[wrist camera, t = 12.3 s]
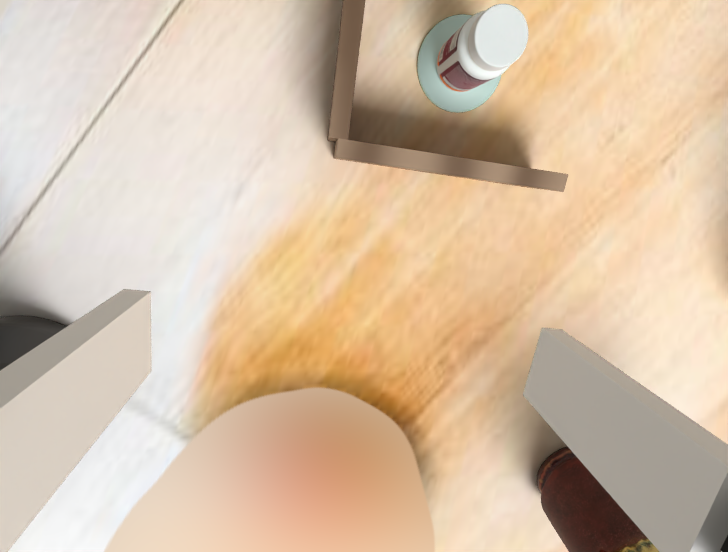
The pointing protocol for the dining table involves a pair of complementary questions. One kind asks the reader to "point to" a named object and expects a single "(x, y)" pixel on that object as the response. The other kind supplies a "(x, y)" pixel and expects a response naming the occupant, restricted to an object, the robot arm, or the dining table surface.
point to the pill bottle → (482, 48)
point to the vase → (585, 509)
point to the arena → (401, 156)
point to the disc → (430, 77)
